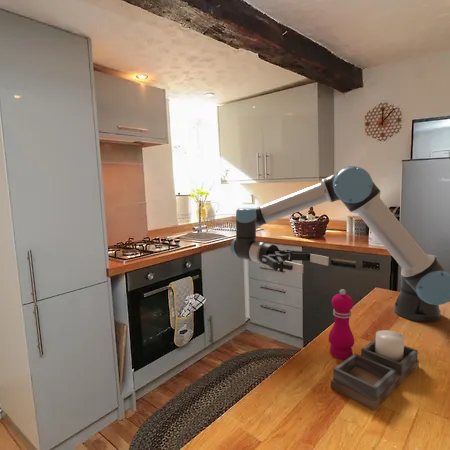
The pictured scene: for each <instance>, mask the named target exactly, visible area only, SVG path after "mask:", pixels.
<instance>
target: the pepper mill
mask: <svg viewBox="0 0 450 450" xmlns="http://www.w3.org/2000/svg"><path fill="white" fill-rule="evenodd" d="M331 307H332V308H333V310H332V315H333V316H334V322H333V323H334V324H333V326H332V328H331V330H330V331H329V334H328V343H329V344H330V347H329V353H330V355H331V356H333V357H335V358H337V359H341V360H347V359H348V358H349V357H351V356H352V355H353V349H352V347H353V346H354V344H355V338H354V333H353V332H352V330H351V327H350V318H351V317H352V311H351V310H352V309H354V300H353V299H352V297H351V296H350V295H348V294H347V291H346V290H345V289H344V288H343V289H342V288H341V289H339V293H337V294H335V295H333V297H332V298H331Z"/></svg>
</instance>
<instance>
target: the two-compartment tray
mask: <svg viewBox="0 0 450 450" xmlns="http://www.w3.org/2000/svg"><path fill="white" fill-rule="evenodd" d="M375 344H376V338H375V339H374V340H372V341H371V342H369V343H368V344H367V345H365V346H364V347H362V348H361V349H360V351H361V354H360V355H359V354H358V353H354V354H352V356H351V357H349V358H347V359H344V360H343V361H342V362H341V363H340V364H338V365H336V366H335V367H334V368H333V374H332V376H333V377H332V378H331V380H330V389H332V390H334V391H336V392H338V393H339V394H341V395H344V396H346V397H347V398H350V399H351V400H352V401H355V402H356V403H358V404H361V405H363V406H364V407H366V408H369V409H370V410H372V411H375V410H376V409H377V408H378V407H379V406H380V405H381V404H382V403H383V402H385V400H387V398H388V397H389V396H390V395H391V394H392V393H393V392H395V390H396V389H398V388H399V386H400V385H401V384H402V383H404V381H405V380H406V379H408V378H409V376H410V375H412V373H414V372H415V371H416V370H417V369H418V368H419V366H420V365H419V363H420V359H418V354H419V352H418V351H419V350H418V349H415V348H412V347H410V346H406V345H404V357H403V360H402V361H401V362H400V363H399V362H397V361H394V360H392V359H389V358H387V357H384V356H381V355H379V354H376V353H375Z"/></svg>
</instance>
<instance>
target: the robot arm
mask: <svg viewBox="0 0 450 450" xmlns="http://www.w3.org/2000/svg"><path fill="white" fill-rule="evenodd" d="M337 201H341V202H342V203H343V204H344V206H345V207H346V208H347V209H348V211H349V212H350V213H354V214H357V215H358V216H359V218H361V219H362V221H363V222H364V223H365V224H366V226H367V227H368V228H369V229H370V230H371V232H372V233H373V234H374V236H375V237H376V238H377V240H379V242H380V243H381V244H382V246H384V248H385V249H386V250H387V252H388V253H389V254H390V256H392V258H393V259H394V260H395V261H396V263H397V264H398V265H399V266H400V268H401V269H400V270H401V271H400V292H399V294H398V296H397V299H396V301H395V303H394V309H393V310H394V313H395V314H396V315H398V316H399V317H402V318H405V319H407V320H410V321H411V320H412V321H416V322H422V323H431V322H436V321H439V320H440V319H441V310H440V305H444V304H447V303H449V302H450V272H448V271H447V270H446V269H445V268H444V267H443V265H442V264H441V263H440V261H439V257H438V256H437V255H434V254H427V253H426V252H424V250H423V249H422V248H421V247H420V245H419V244H418V243H417V242H416V241H415V239H414V237H412V236H411V234H410V233H409V232H408V230H407V229H406V227H404V225H402V224H401V222H400V221H399V219H397V217H396V216H395V215H394V213H393V212H392V211H391V210H390V208H389V207H388V206H387V204H385V202H384V201H383V200H382V199H381V189H379V188H378V186H377V185H376V184H375V182H374V181H373V179H372V176H371V174H370V173H369V172H368V171H367V170H366V169H364V168H363V167H360V166H356V165H352V166H346V167H344V168H341V169H339V170H337V172H335V173H333V174H331V175H329V176H327V177H325V178H322V179H321V181H320V182H319V183H317V184H315V185H314V184H313V185H311V186H308V187H306V188H304V189H301V190H298V191H296V192H293V193H290V194H288V195H285V196H282V197H281V198H277V199H275V200H273V201H270V202H267V203H265V204H262V205H260V206H258V207H255V208H254V207H238V208H237V209H236V212H235V229H236V230H235V234H236V235H235V238H233V240H232V241H231V244H230V248H229V250H230V253H231V254H232V255H233V256H234V257H237V258H239V259H240V260H247V261H251V262H254V263H257V265H260V264H262V265H265V266H269V267H270V268H271V269H273V271H278V270H279V272H283V273H284V270H285V271H289V272H293V273H297V274H300V275H302V274H304V264H302V263H297V262H293V261H299V262H300V261H301V262H304V261H305V262H310V263H314V264H317V265H318V264H319V265H323V266H329V259H330V257H329V256H325V255H321V254H320V255H319V254H315V251H313V250H311V251H305V250H303V251H302V250H291V249H286V250H283V249H282V250H281V249H279V247H278V246H277V244H276V245H275V244H272V243H267V242H262V241H257V228H258V227H260V226H263V225H266V224H268V223H271V222H274V221H276V220H280V219H283V218H285V217H288V216H291V215H293V214H296V213H299V212H301V211H304V210H307V209H309V208H313V207H315V206H318V205H321V204H324V203H327V202H328V203H334V202H337Z"/></svg>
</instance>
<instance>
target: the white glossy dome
mask: <svg viewBox="0 0 450 450" xmlns="http://www.w3.org/2000/svg"><path fill="white" fill-rule="evenodd" d="M375 339H376V344H375V353H376V354H379V355H381V356H384V357H387V358H389V359H392V360H394V361H397V362H399V363H400V362H401V361H402V360H403V357H404V346H405V337H404V335H402V333H399V332H398V331H397V332H396V331H394V330H390V329H389V330H387V329H383V330H378V331H376V332H375Z"/></svg>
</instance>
